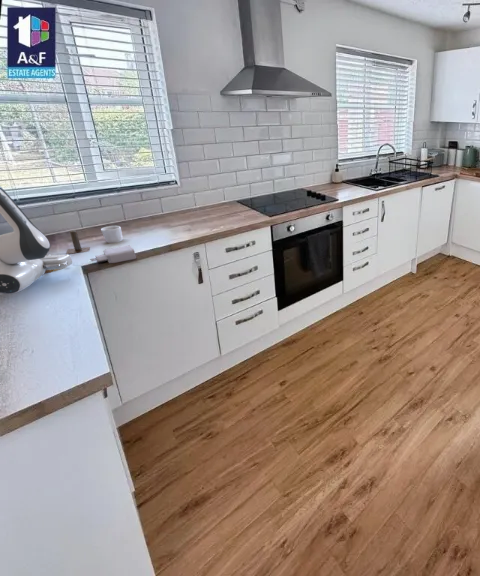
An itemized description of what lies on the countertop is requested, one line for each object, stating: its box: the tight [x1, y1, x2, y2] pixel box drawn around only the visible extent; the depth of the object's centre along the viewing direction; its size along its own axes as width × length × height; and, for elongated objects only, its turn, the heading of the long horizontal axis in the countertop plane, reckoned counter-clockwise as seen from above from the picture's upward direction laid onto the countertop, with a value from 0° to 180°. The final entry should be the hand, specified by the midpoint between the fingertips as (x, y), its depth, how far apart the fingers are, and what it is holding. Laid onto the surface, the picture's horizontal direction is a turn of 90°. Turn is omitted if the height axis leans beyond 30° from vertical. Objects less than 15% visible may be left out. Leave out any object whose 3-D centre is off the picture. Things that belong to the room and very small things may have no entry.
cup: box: [100, 225, 124, 244], centre depth 178 cm, size 11×8×8 cm
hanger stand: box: [65, 229, 91, 255], centre depth 163 cm, size 8×8×10 cm
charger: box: [89, 244, 137, 264], centre depth 154 cm, size 5×9×15 cm
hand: (44, 256), depth 140 cm, fingers closed
